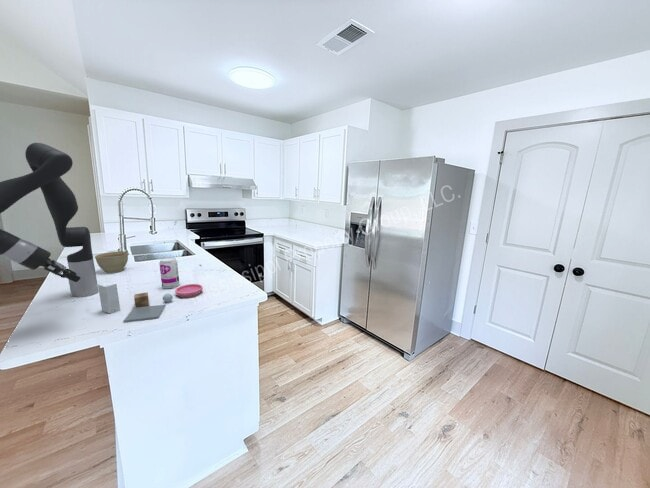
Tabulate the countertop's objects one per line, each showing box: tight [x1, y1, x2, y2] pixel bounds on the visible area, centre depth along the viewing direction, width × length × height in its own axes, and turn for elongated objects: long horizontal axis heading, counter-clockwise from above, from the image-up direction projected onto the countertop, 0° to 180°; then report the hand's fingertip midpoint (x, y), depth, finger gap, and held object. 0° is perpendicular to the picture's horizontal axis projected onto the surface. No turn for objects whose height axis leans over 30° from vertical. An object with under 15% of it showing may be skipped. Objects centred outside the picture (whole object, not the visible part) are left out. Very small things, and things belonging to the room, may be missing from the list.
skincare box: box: [97, 281, 121, 314], centre depth 112 cm, size 6×4×12 cm
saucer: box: [174, 283, 204, 298], centre depth 133 cm, size 12×12×3 cm
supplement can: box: [159, 257, 180, 289], centre depth 141 cm, size 8×8×15 cm
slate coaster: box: [123, 304, 166, 323], centre depth 111 cm, size 12×12×1 cm
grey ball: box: [162, 293, 174, 303], centre depth 122 cm, size 4×4×4 cm
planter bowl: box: [94, 251, 129, 274], centre depth 164 cm, size 16×16×11 cm
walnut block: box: [133, 291, 150, 308], centre depth 118 cm, size 5×5×5 cm
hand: (76, 277), depth 103 cm, fingers open, 8 cm apart
